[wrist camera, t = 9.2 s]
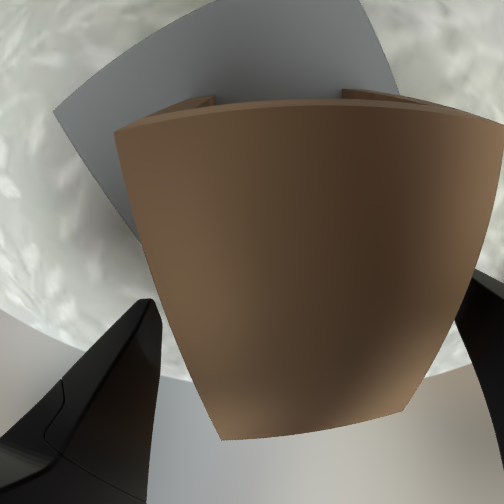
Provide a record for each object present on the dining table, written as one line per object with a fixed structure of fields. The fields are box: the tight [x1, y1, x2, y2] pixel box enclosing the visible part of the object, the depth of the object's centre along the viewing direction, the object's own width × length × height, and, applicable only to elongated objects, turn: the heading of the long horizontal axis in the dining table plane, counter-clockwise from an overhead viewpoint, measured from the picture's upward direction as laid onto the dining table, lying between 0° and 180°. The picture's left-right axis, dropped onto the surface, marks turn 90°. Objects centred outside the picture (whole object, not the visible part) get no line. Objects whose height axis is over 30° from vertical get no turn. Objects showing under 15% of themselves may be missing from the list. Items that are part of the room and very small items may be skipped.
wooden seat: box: [114, 89, 504, 440], centre depth 9 cm, size 7×10×7 cm
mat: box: [53, 0, 400, 244], centre depth 13 cm, size 18×13×1 cm
